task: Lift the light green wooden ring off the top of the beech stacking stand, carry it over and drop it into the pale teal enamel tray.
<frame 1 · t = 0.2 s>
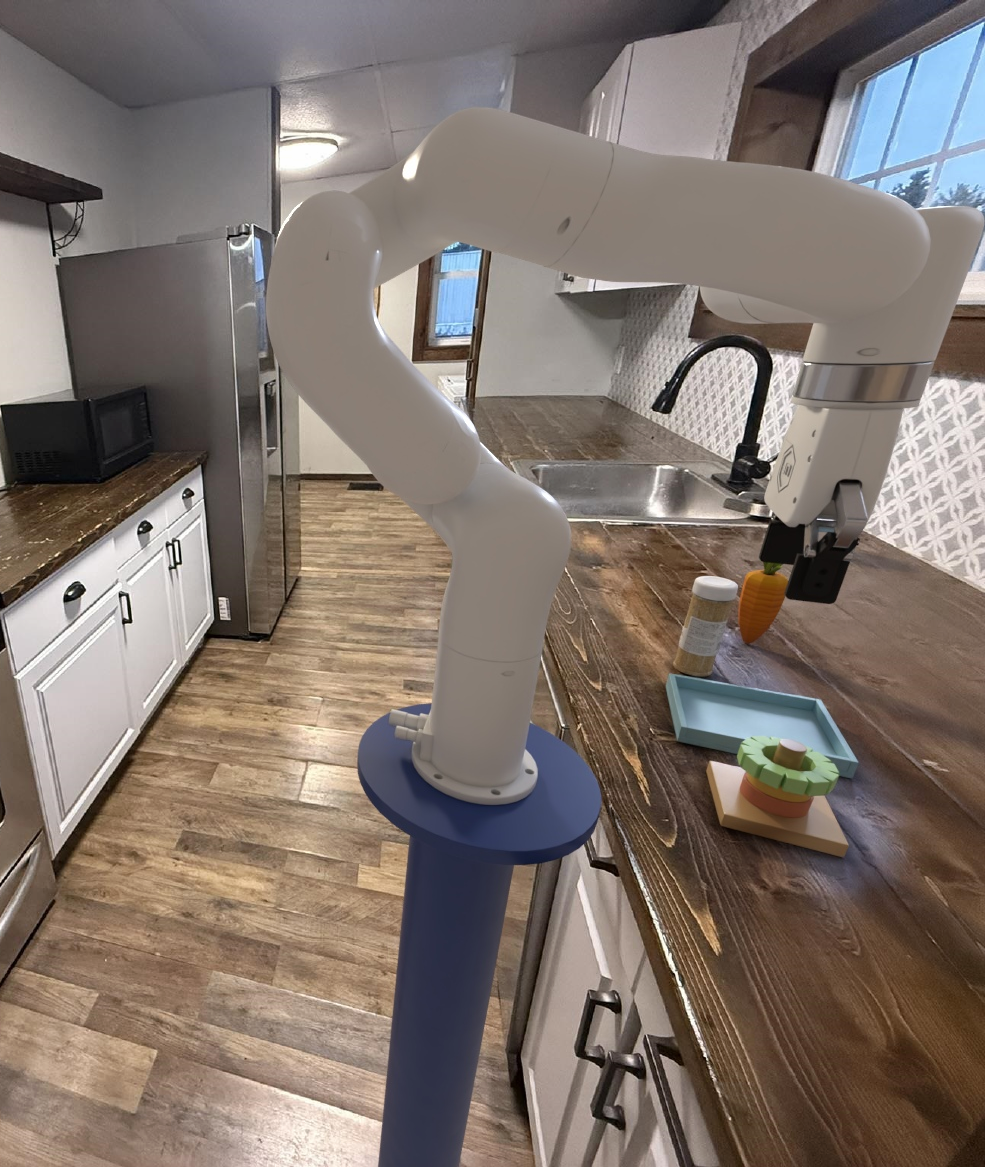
hand: (792, 580, 57), 24 cm above the worktop, tool pointing down, fingers open, 9 cm apart
sprinkles bottle: (691, 671, 87), on the worktop
ring: (783, 771, 61), point 5 cm above the worktop, touching stand
tray: (747, 727, 75), on the worktop
white cube: (803, 547, 128), on the worktop
carrot: (746, 644, 93), on the worktop
stand: (768, 810, 63), on the worktop
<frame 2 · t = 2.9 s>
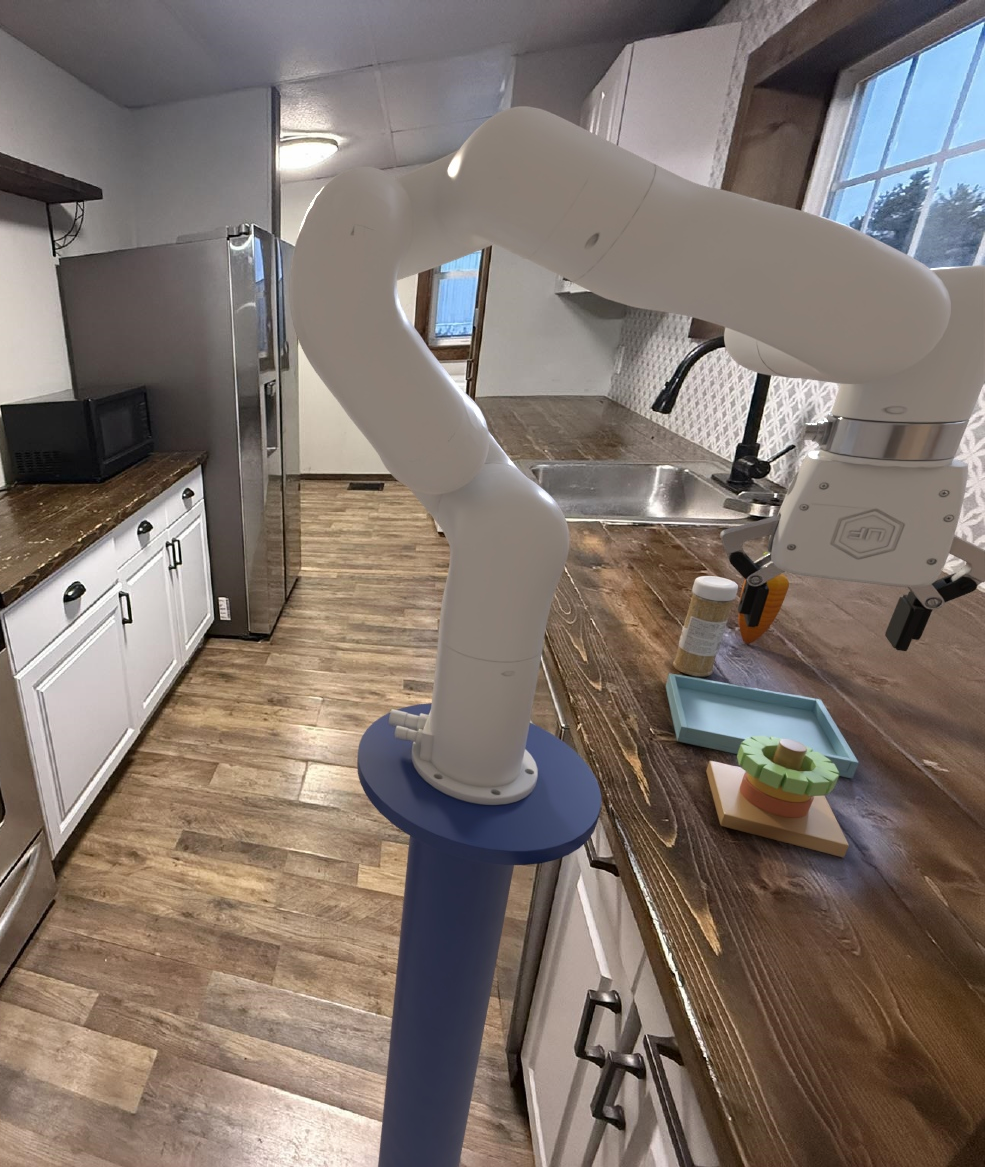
hand: (819, 632, 56), 20 cm above the worktop, tool pointing down, fingers open, 9 cm apart
nothing on the worktop moved.
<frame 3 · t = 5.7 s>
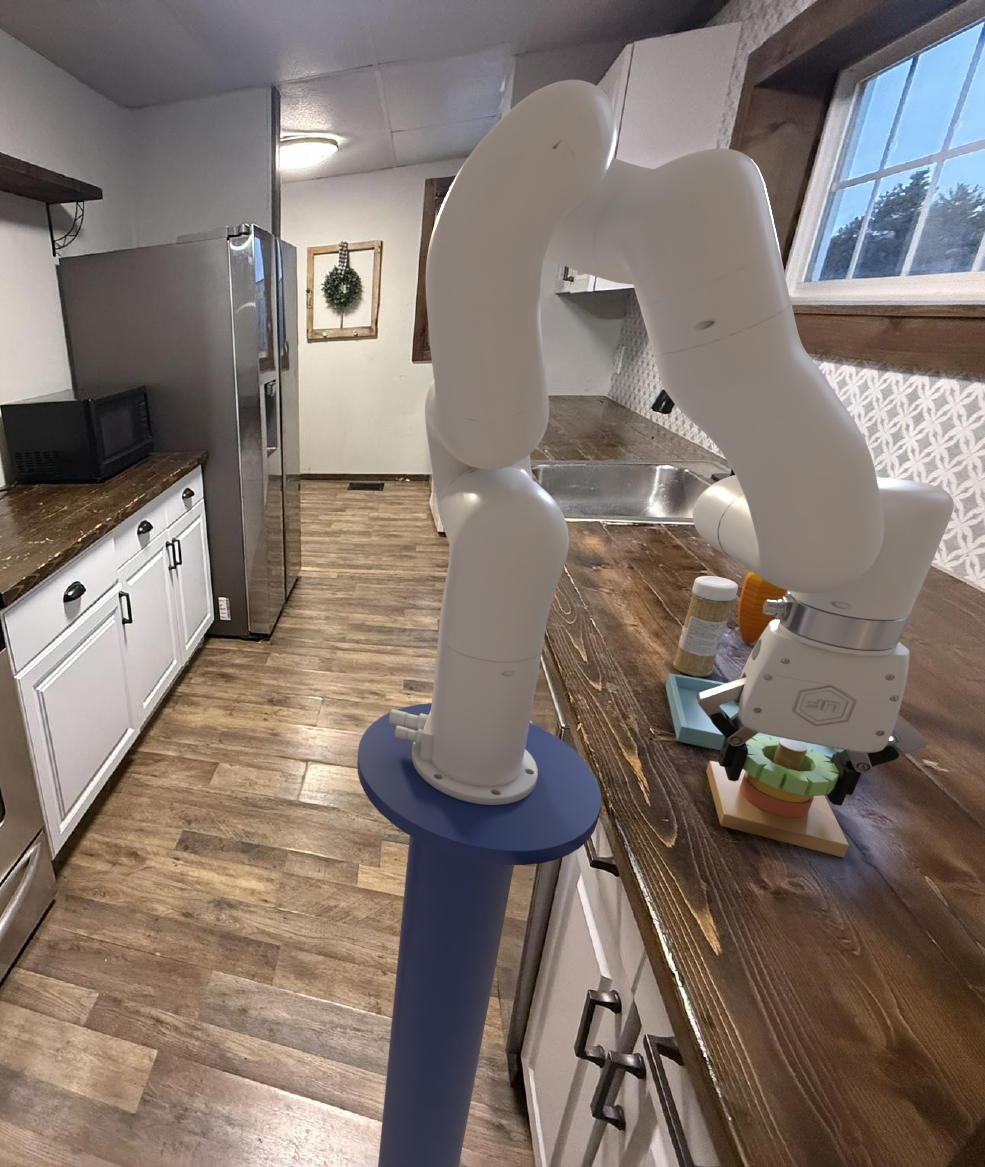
hand: (779, 782, 61), 3 cm above the worktop, tool pointing down, fingers closed on ring, 7 cm apart
ring: (783, 771, 61), point 5 cm above the worktop, touching gripper, stand
everything else where it was.
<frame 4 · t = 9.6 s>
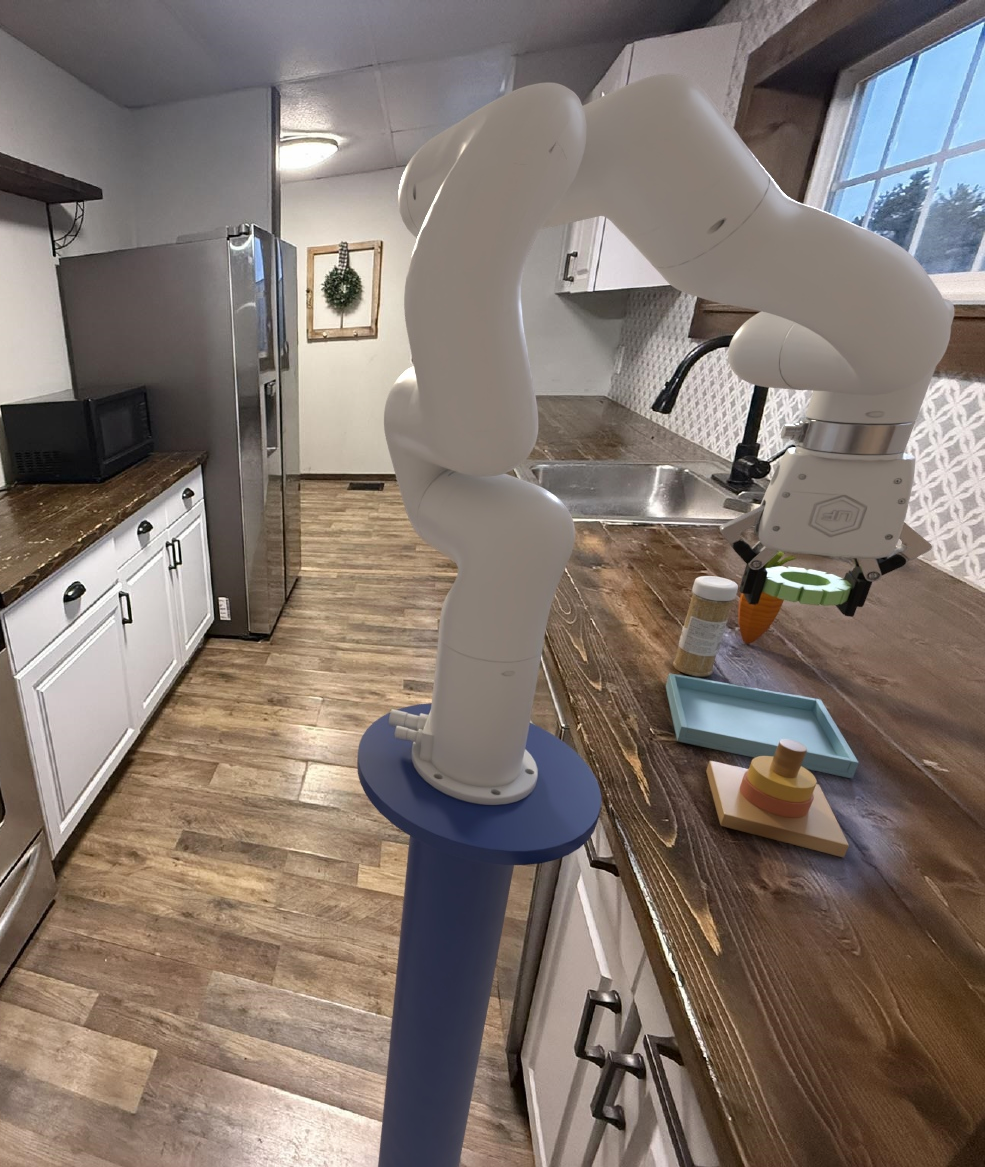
hand: (796, 604, 67), 17 cm above the worktop, tool pointing down, fingers closed on ring, 7 cm apart
ring: (800, 592, 66), point 18 cm above the worktop, touching gripper
everything else where it was.
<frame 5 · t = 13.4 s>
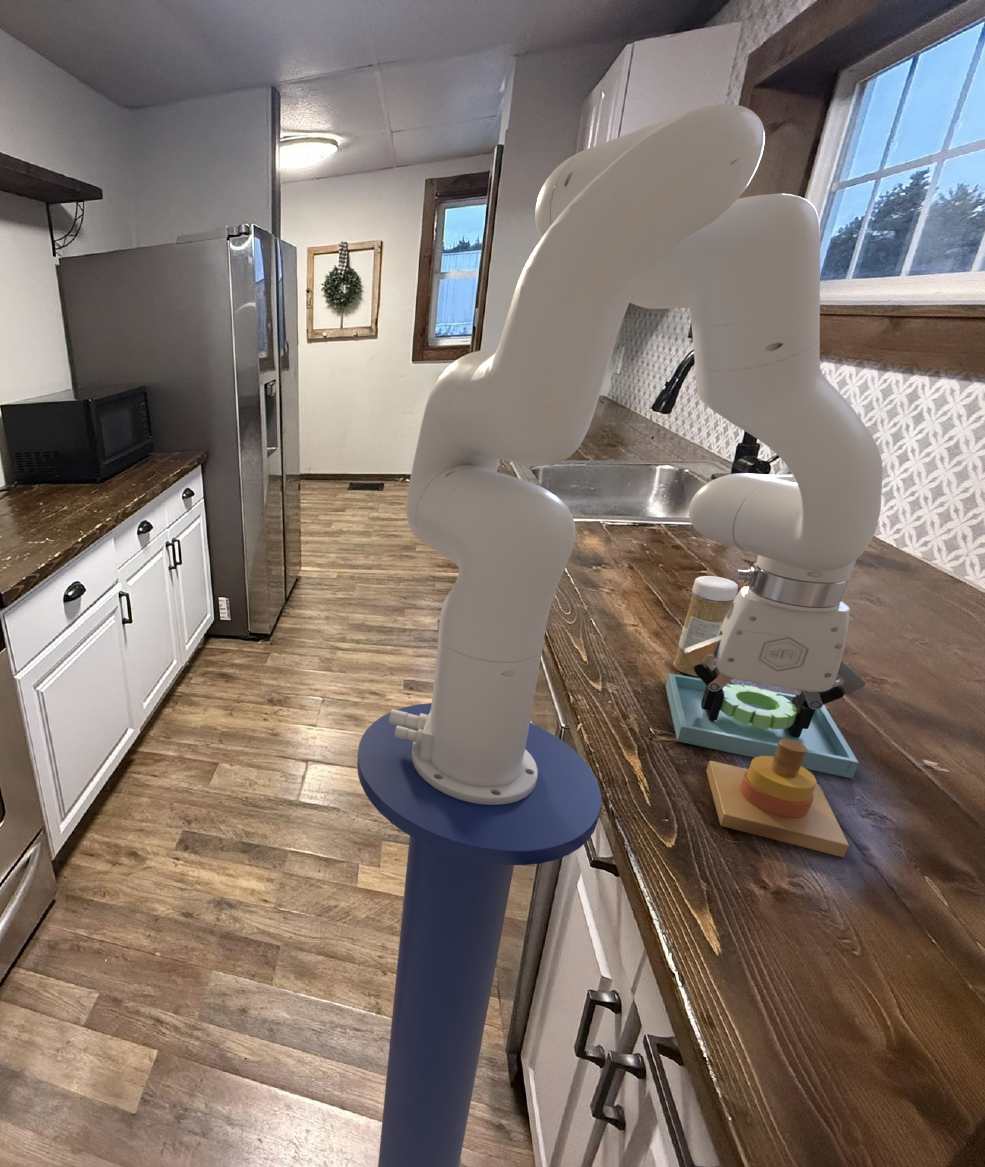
hand: (750, 721, 75), 1 cm above the worktop, tool pointing down, fingers closed on ring, 7 cm apart
ring: (753, 711, 74), point 2 cm above the worktop, touching gripper
everything else where it was.
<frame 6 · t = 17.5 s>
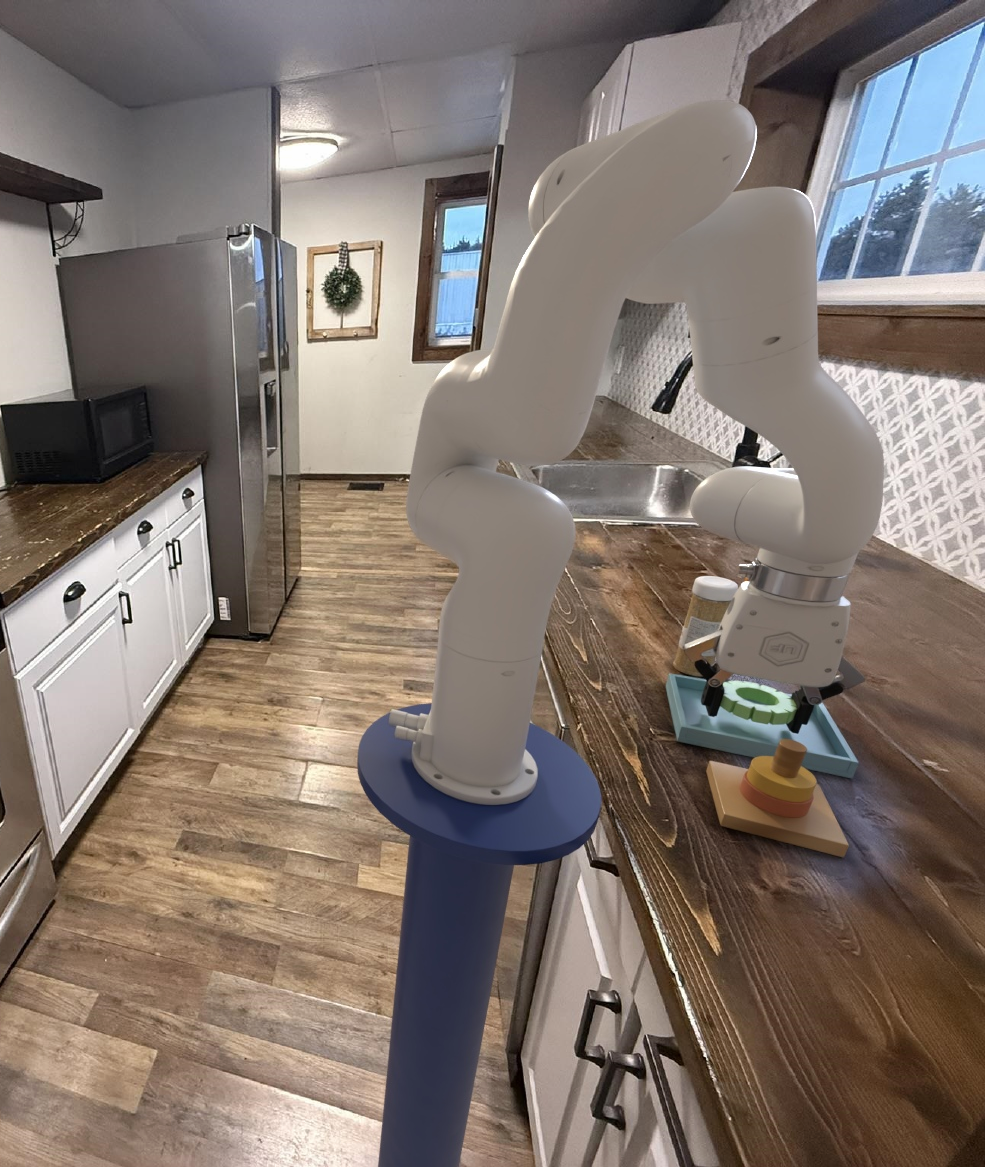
hand: (749, 717, 74), 1 cm above the worktop, tool pointing down, fingers closed on ring, 6 cm apart
ring: (753, 707, 74), point 3 cm above the worktop, touching gripper
everything else where it was.
when the fingers open (1 cm above the worktop, at t = 21.3 s): ring drops 2 cm, resting on tray.
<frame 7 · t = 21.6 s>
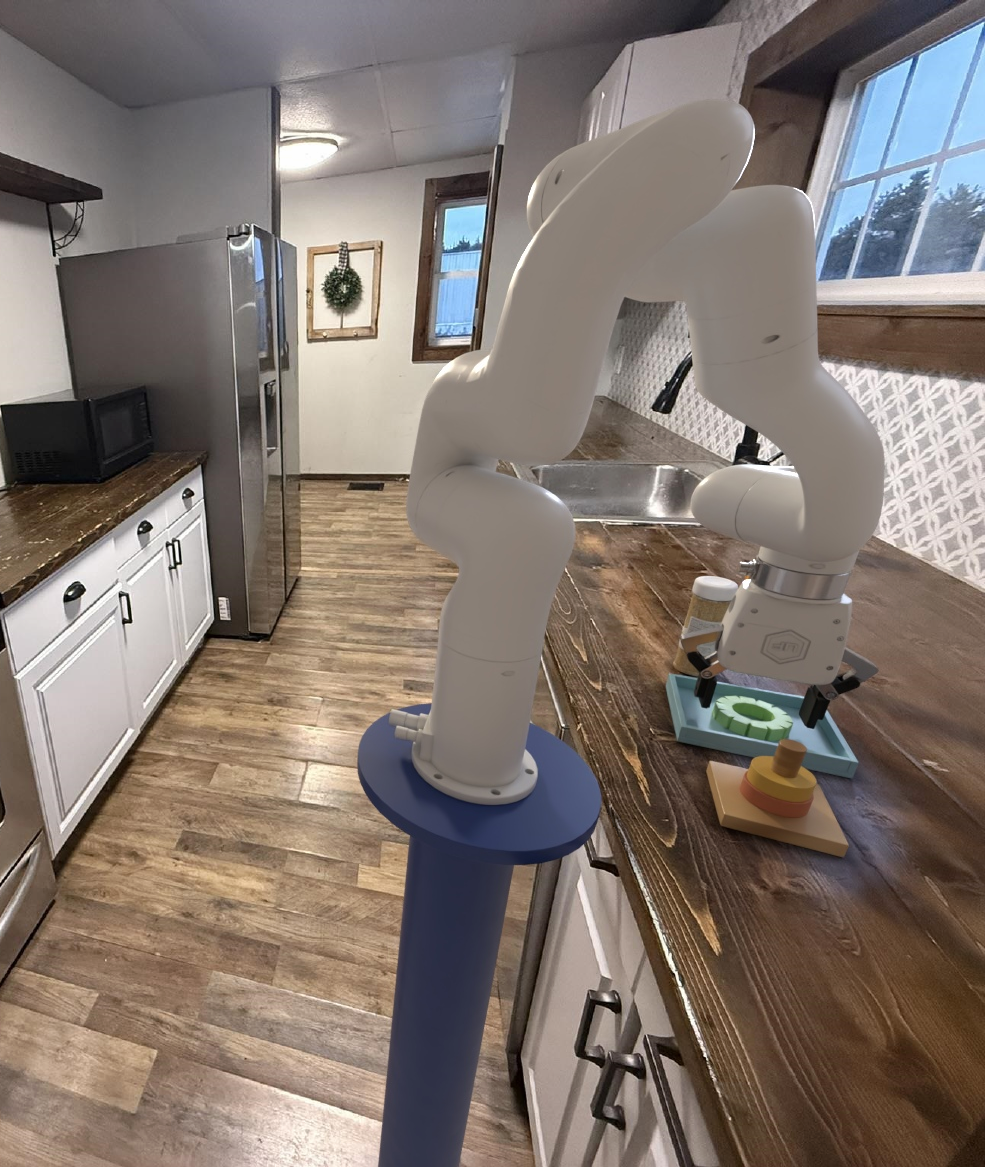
hand: (753, 712, 74), 2 cm above the worktop, tool pointing down, fingers open, 9 cm apart
ring: (749, 723, 75), point 1 cm above the worktop, touching tray
everything else where it was.
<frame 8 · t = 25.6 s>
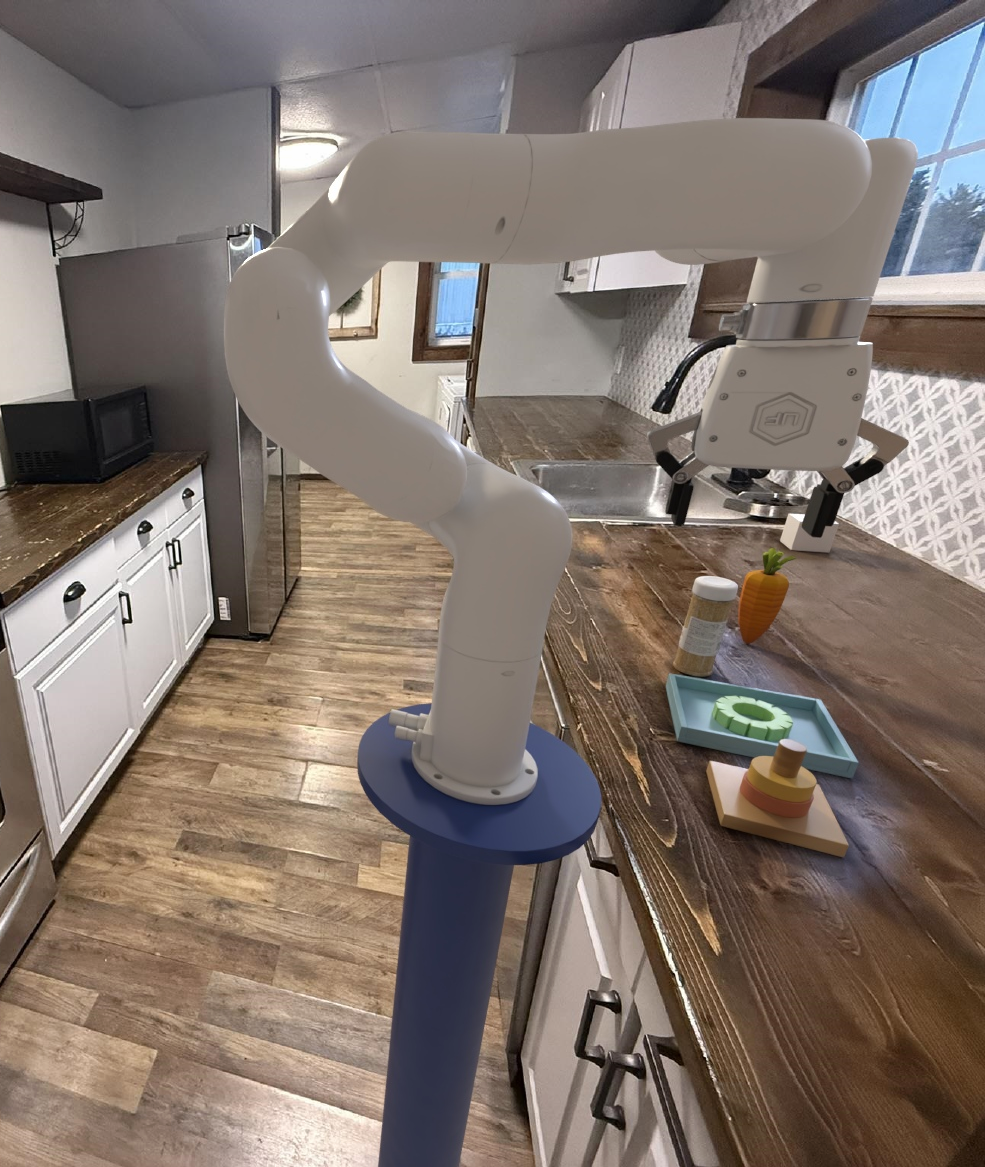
hand: (741, 527, 57), 28 cm above the worktop, tool pointing down, fingers open, 9 cm apart
nothing on the worktop moved.
at the end: ring inside the target area in the tray (0.0 cm from its centre), point 0.6 cm above the tray's base; ring tilted 0° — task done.
